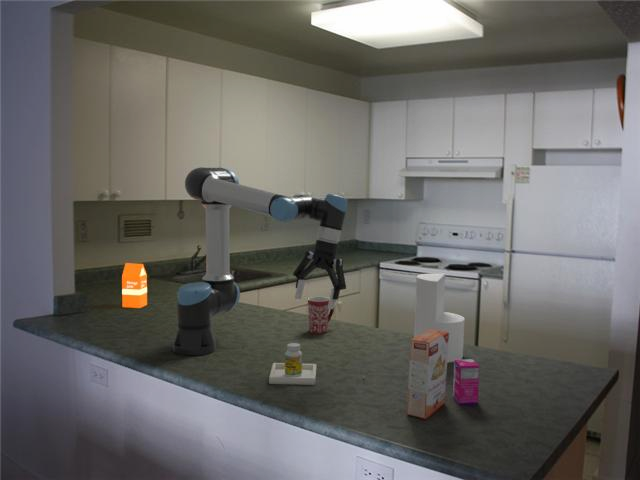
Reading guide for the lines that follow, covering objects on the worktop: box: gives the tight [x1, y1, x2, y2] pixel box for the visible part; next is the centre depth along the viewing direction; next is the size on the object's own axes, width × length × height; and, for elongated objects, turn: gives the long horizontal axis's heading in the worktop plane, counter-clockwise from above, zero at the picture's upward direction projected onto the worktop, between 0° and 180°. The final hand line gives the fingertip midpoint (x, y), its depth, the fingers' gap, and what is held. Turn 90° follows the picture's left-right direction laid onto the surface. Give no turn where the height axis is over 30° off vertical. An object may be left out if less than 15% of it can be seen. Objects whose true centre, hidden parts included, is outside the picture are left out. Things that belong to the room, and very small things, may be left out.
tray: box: [268, 362, 317, 386], centre depth 190 cm, size 14×14×2 cm
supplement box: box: [452, 358, 480, 406], centre depth 172 cm, size 6×6×12 cm
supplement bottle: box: [284, 342, 303, 377], centre depth 190 cm, size 5×5×10 cm
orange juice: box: [121, 262, 148, 309], centre depth 283 cm, size 8×9×20 cm
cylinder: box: [413, 273, 465, 363], centre depth 215 cm, size 17×17×28 cm
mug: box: [307, 296, 335, 335], centre depth 245 cm, size 13×9×14 cm
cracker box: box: [406, 329, 449, 420], centre depth 165 cm, size 14×6×21 cm, turn 147°
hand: (313, 303), depth 201 cm, fingers open, 13 cm apart
